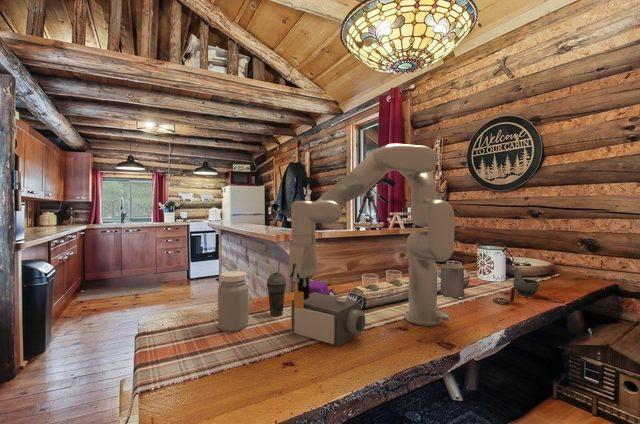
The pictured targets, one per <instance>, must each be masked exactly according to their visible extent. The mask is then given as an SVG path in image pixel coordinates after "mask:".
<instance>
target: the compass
mask: <svg viewBox="0 0 640 424" xmlns="http://www.w3.org/2000/svg"><path fill="white" fill-rule="evenodd" d="M515 294H516V289H515V287H514V286H511V292H510V300H509V299H507V298H504V297H494V298H493V299H492V301H495V302H498V303H499V304H498V303H497V304H498V305H503V304H508V305H510V304H511V303H513V302H514V300H515ZM498 299H500V300H498ZM495 302H494V303H495ZM502 303H503V304H502ZM509 303H510V304H509Z"/></svg>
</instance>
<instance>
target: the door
mask: <svg viewBox="0 0 640 424" xmlns="http://www.w3.org/2000/svg"><path fill="white" fill-rule="evenodd" d="M293 292H294V293H293V300H294V332H293V333H294V334H297V335H300V336H303V337H306V338H309V337H310V339H312V338H313V339H312V340H315V339H317V340H316V341H318V340H320V341H319V342H321V341H324V342H327V343H331V344H334V343H335V315H331V314H326V313H322V312H317V311H313V310H309V309H304V292H300V291H298V290H294V291H293ZM324 342H323V343H324ZM327 343H326V344H327Z"/></svg>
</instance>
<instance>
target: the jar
mask: <svg viewBox="0 0 640 424" xmlns="http://www.w3.org/2000/svg"><path fill="white" fill-rule="evenodd" d="M219 277H220V278H219V280H220V283H219V286H218V288H217V309H218V310H217V314H218V315H217V326H218V328H219V329H220V330H221V331H223V332H226V333H227V332H228V333H234V332H239V331H242V330H245V328H246V327H247V326H248V325H249V286H248V285H247V284H246V283H247V280H246V279H247V273H246V272H245V271H242V270H229V271H224V272H221V273H220V274H219Z"/></svg>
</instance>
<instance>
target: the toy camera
mask: <svg viewBox="0 0 640 424" xmlns="http://www.w3.org/2000/svg"><path fill="white" fill-rule="evenodd" d="M308 286H309V294H311V293H314V292H316V293H321V294H325V295H330V296H334V297H335V292H334V289H333V288H330V289H329V286H328V283H327V282H324V281H316V280H315V281H314V279H311V280H310V285H308Z"/></svg>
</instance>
